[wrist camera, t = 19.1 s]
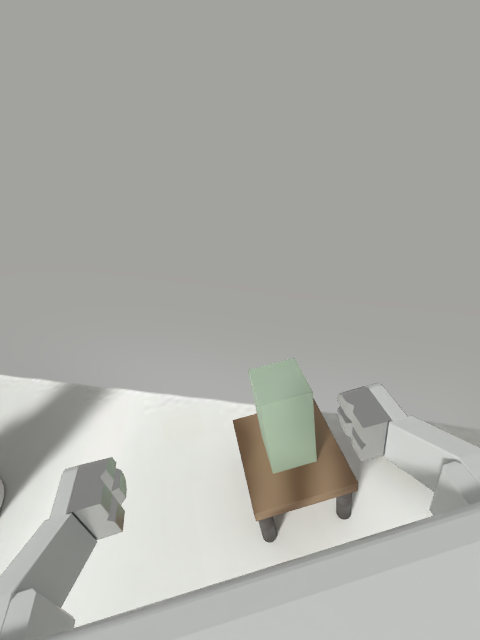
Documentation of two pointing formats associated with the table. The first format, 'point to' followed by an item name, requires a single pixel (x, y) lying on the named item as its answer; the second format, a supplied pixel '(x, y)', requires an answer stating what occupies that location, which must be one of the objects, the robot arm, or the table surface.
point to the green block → (285, 414)
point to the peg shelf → (293, 475)
